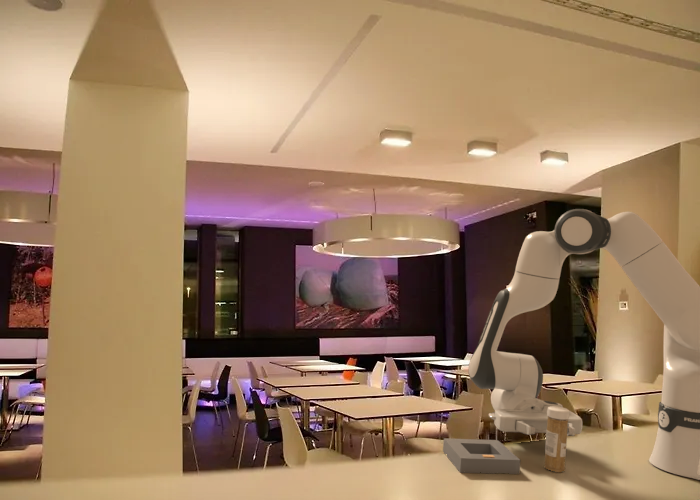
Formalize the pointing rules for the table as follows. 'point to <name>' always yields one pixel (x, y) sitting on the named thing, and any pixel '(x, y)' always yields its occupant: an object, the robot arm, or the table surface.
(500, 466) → the square frame
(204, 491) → the table surface
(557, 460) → the sprinkles bottle
